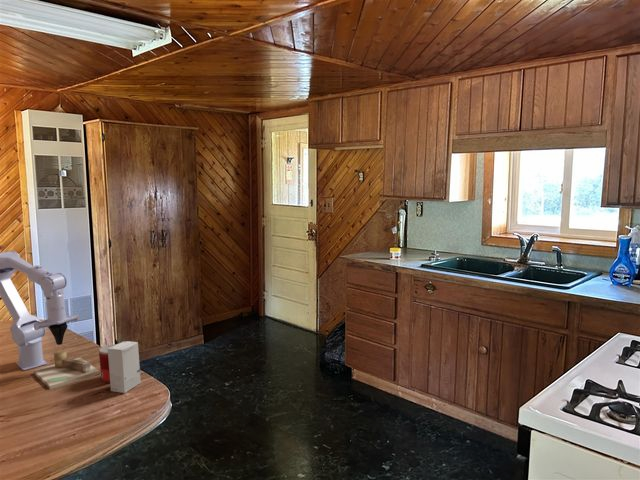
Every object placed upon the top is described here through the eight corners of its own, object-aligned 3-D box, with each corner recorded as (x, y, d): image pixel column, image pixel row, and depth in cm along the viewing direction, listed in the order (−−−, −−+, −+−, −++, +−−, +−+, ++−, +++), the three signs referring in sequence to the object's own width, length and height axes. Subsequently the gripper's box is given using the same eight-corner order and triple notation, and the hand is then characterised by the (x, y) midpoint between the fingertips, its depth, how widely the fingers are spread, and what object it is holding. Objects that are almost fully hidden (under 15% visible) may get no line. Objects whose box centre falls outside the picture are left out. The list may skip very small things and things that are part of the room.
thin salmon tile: (83, 373, 164) (83, 373, 164) (79, 372, 165) (79, 372, 165) (90, 370, 167) (90, 369, 167) (86, 369, 168) (86, 369, 168)
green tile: (49, 382, 157) (49, 382, 157) (50, 378, 160) (50, 378, 160) (66, 379, 159) (66, 379, 159) (67, 376, 162) (67, 375, 162)
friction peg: (52, 366, 169) (51, 353, 168) (62, 362, 173) (61, 349, 172) (83, 373, 163) (82, 359, 163) (92, 368, 167) (91, 355, 166)
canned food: (116, 384, 159) (114, 353, 157) (96, 382, 160) (93, 351, 159) (130, 374, 166) (128, 345, 164) (110, 372, 168) (108, 343, 166)
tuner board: (33, 373, 167) (33, 370, 167) (80, 360, 179) (80, 357, 178) (50, 389, 155) (49, 385, 155) (99, 374, 166) (99, 370, 166)
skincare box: (124, 394, 151) (121, 350, 149) (109, 391, 153) (106, 348, 151) (141, 382, 159) (139, 341, 157) (127, 380, 161) (124, 339, 159)
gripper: (36, 314, 159) (40, 352, 161) (81, 305, 169) (84, 341, 171) (30, 310, 164) (34, 347, 166) (74, 301, 174) (77, 336, 176)
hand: (59, 343), depth 169 cm, fingers closed
